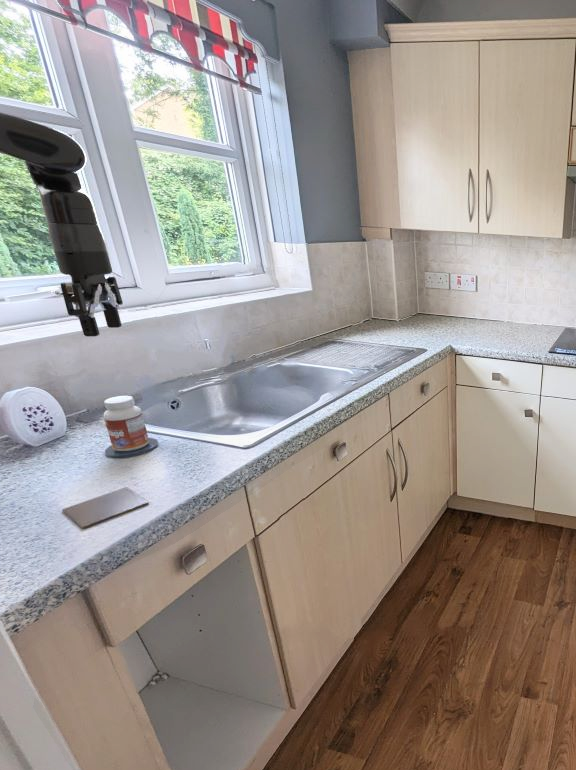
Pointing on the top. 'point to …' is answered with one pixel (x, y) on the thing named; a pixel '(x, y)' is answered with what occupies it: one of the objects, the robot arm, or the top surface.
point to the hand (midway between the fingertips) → (104, 331)
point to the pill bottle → (125, 424)
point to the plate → (121, 454)
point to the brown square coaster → (104, 507)
